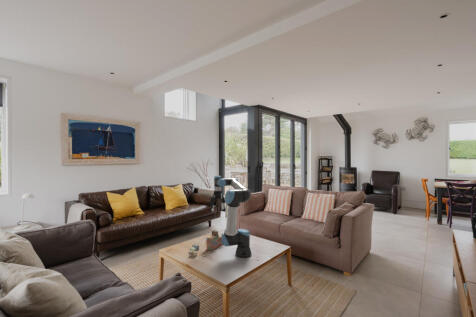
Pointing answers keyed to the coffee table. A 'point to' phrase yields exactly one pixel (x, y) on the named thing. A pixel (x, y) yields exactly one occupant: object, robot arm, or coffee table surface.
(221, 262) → the coffee table surface
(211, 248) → the stack of blocks
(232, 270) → the coffee table surface
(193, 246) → the grey brick
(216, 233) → the walnut brick
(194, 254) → the maple brick
